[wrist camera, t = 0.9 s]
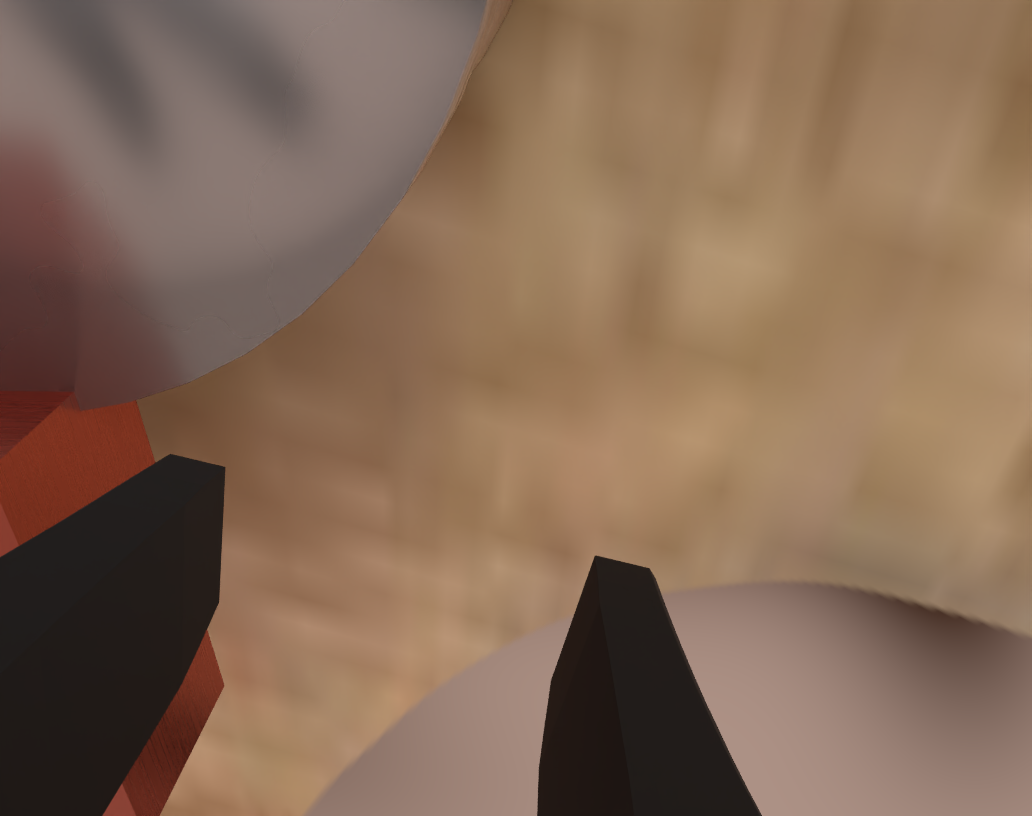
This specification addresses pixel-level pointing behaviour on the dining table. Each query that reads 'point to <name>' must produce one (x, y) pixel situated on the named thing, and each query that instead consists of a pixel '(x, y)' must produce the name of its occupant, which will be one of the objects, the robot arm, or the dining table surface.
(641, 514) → the dining table surface
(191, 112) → the cooker lid
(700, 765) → the robot arm
